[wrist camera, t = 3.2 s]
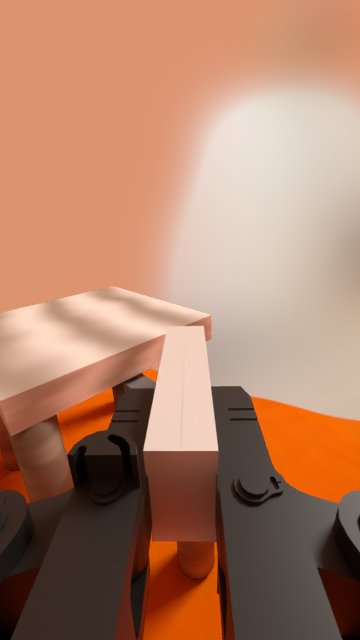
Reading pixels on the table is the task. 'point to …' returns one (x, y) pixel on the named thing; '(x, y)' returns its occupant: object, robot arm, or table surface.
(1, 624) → the robot arm
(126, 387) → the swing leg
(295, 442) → the table surface
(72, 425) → the table surface
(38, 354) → the stool
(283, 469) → the table surface
